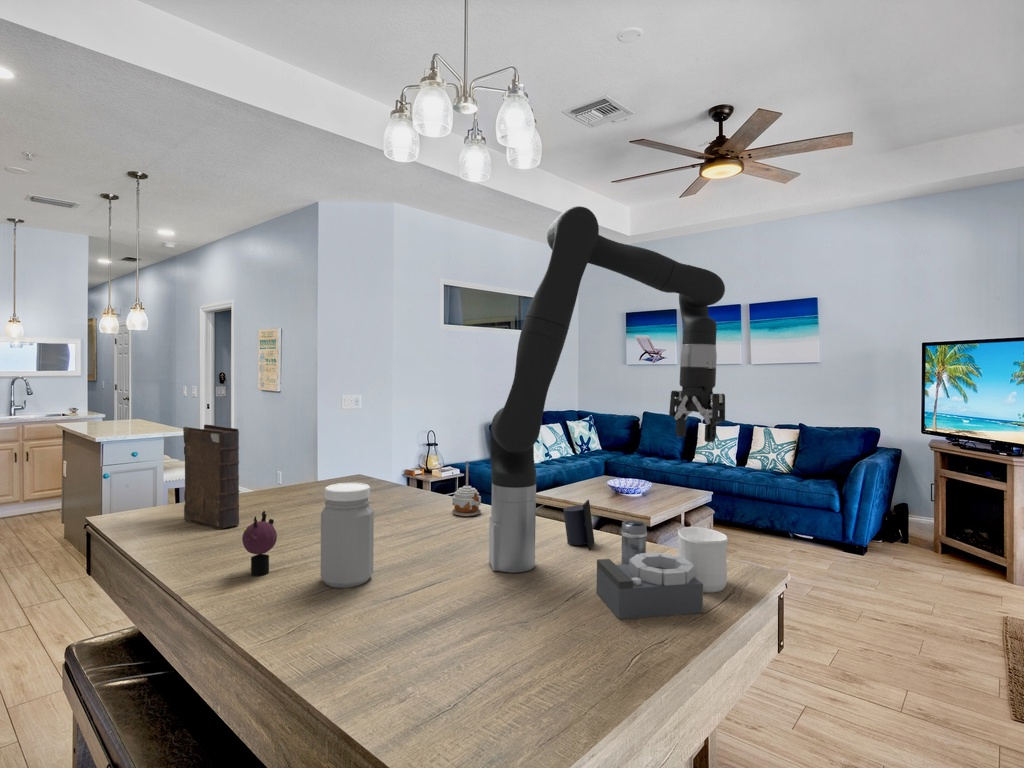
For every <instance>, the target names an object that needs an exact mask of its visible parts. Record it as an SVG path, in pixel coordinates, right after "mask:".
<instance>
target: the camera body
mask: <svg viewBox="0 0 1024 768" xmlns="http://www.w3.org/2000/svg"><path fill="white" fill-rule="evenodd" d="M595 593H596V594H597V595H598V597H599V598H600V599H601V600H602V602H603V603H604V604H605V605H606V606H607V607H608V609H609V610H610V611H611V612H612V613H613V614H614V616H616V618H617V619H618V620H622V619H637V618H639V619H640V618H653V617H665V616H668V617H669V616H679V615H693V614H703V601H704V600H703V599H704V597H703V596H704V595H703V594H704V592H703V583H701V582H700V581H698V580H697V579H696V578H694V564H692V563H691V562H689V561H688V560H686V559H685V558H681V557H680V556H677V555H673V554H669V553H663V552H661V553H659V552H646V553H640V554H636V555H635V556H634V557H632V558H631V559H629V564H625V565H621V564H616V563H614V561H613V560H611V559H610V558H599V559H598V558H597V560H596V592H595Z"/></svg>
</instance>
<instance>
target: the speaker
mask: <svg viewBox="0 0 1024 768" xmlns="http://www.w3.org/2000/svg"><path fill="white" fill-rule="evenodd" d="M563 517H564V525H565V534H566V540H567V541H566V542H567V544H568V545H571V546H582V545H586V544H587V547H588V550H589V551H591V550H592V548H593V547H594V545H595V544H596V543H595V536H594V528H593V519H592V513H591V503H590V499H587V500H585V502H584V503H583V504H581V505H572V506H567V507H565V508H564V509H563Z"/></svg>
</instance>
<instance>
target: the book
mask: <svg viewBox="0 0 1024 768" xmlns="http://www.w3.org/2000/svg"><path fill="white" fill-rule="evenodd" d="M182 429H183V431H182V432H183V433H182V434H183V444H184V446H183V454H184V492H183V495H184V496H183V499H184V506H183V507H184V508H183V520H184V521H186V522H188V523H192V524H193V523H194V524H199V525H203V526H208V527H210V528H212V529H215V530H222V529H225V528H230V527H235V526H237V525H238V526H239V525H240V504H239V503H240V501H239V500H240V490H239V489H240V487H239V486H240V482H239V481H240V479H239V478H240V475H239V474H240V473H239V469H240V468H239V464H240V460H239V459H240V457H239V455H240V454H239V452H240V445H239V444H240V439H239V438H240V436H239V435H240V431H239V428H233V427H224V426H217V425H212V424H204V425H203V428H197V427H189V426H184V427H182Z"/></svg>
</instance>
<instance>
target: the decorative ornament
mask: <svg viewBox="0 0 1024 768" xmlns="http://www.w3.org/2000/svg"><path fill="white" fill-rule="evenodd" d="M481 502H482V497H481V495H480V493H479V492H478V489H476V488H475V487H472V485H469V460H466V462H465V485H463V486H462V487H459V488H458V489H457V490H456V491H454V495H453V496H452V506H453V507H454V508H452V514H454V515H457V516H461V517H473V516H476V515H479V514H481V512H482V509H480V506H481V504H482V503H481Z"/></svg>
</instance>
